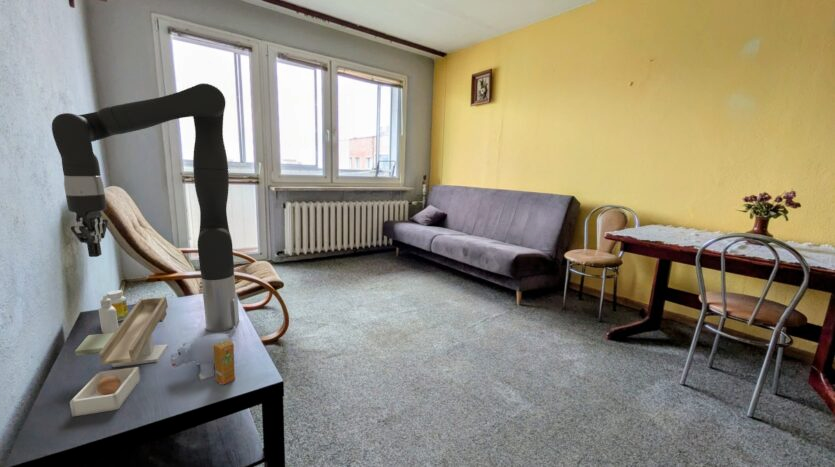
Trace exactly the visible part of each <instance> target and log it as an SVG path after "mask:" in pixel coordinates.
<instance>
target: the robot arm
mask: <svg viewBox="0 0 835 467" xmlns="http://www.w3.org/2000/svg"><path fill="white" fill-rule="evenodd" d="M225 109H226V98H225V95H224V94H223V92H222V90H220V89H219V88H218V86H217V87H216V86H215V85H213V84H210V83H198V84H196V85H193V86H190V87H188V88H186V89H183V90H180V91H177V92H174V93H171V94H170V93H169V94H167V95H164V96H160V97H155V98H149V99H148V98H147V99H144V100H143V99H142V100H139V101H132V102H127V103H122V104H121V103H120V104H116V105H115V104H114V105H111V106H106V107H103V108H101V109H99V110H98V111H93V112H88V113H84V114H74V113H71V112H70V113H69V112H66V113H61V114H58V115H56V116H55V117H54V118H53V120H52V122H51V133H52V136H53V140H54V143H55V145H56V149H57V150H58V153H59V155H60V158H61V166H62V167H61V168H62V172H63V186H64V192H65V198H66V204H67V209H68V212H72V213H75V222H76V225H75V226H74V225H72V226H71V227H70V230H71V232H72V233H73V234H74V236H75V237H76V238H77V239H78V241H79V242H80V243H81V244H83V243H84V244H85V245H86V248H87V251H88V257H89V258H95V257H96V258H97V257H99V256H102V248H101V242H102V239H105V236H106V232H107V228H108V224H109V221H108V219H107V218H106V219H104V218H103V215H102V211H105V210H107V206H108V205H107V201H106V193H105V188H104V187H105V186H104V182H103V180H102V176H101V169H100V163H99V158H98V157H97V156H96V154H95V153H94V149H93V145H92V143H93V142H95V141H100V140H103V139H106V138H109V137H112V136H115V135H122V134H127V133H132V132H136V131H140V130H141V131H142V130H145V129H148V128H151V127H152V128H153V127H155V126H158V125H160V124H164V123H166V122H171V121H174V120H178V119H183V118H191V117H192V118H193V123H194V124H193V125H194V132H195V134H194V139H195V140H194V145H193V146H194V148H193V157H192V158H193V160H192V161H193V162H192V164H193V170H192V171H193V180H194V188H195V194H196V198H197V202H198V205H199V211H200V212H199V214H200V217H199V218H200V219H199V233H198V238H197V252H198V261H199V270H200V271H199V272H200V276H201V286H202V287H201V288H202V299H203V300H202V301H203V307H204V308H203V310H204V317H205V319H204V320H205V328H206V330H207V331H210V332H223V331H227V330H230V329H233V328H234V326H235V327H236V328H237V326H238V323H239V321H240V313H239V311H240V310H239V302H238V301H239V300H238V293H237V292H236V281H235V264H234V263H235V262H234V249H233V238H232V236H231V233H230V227H229V221H228V214H227V204H228V197H229V187H230V186H229V182H230V181H229V180H230V179H229V164H228V157H227V152H226V146H225V142H224V130H223V128H224V114H225Z"/></svg>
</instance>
